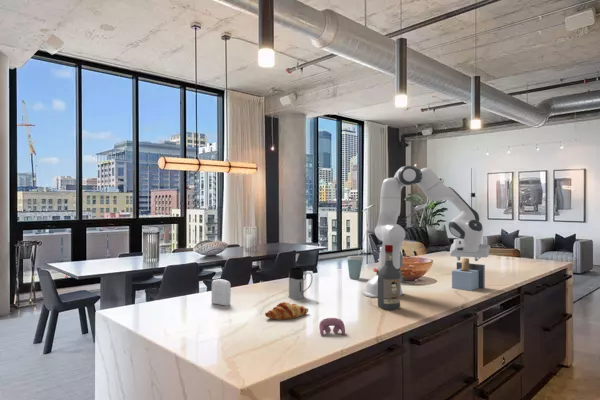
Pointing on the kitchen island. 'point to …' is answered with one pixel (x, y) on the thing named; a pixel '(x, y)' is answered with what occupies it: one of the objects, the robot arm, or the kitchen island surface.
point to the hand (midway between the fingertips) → (467, 259)
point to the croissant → (286, 311)
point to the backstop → (479, 268)
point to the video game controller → (331, 322)
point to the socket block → (465, 279)
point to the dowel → (465, 264)
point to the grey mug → (297, 283)
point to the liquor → (388, 283)
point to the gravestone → (221, 292)
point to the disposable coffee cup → (354, 266)
